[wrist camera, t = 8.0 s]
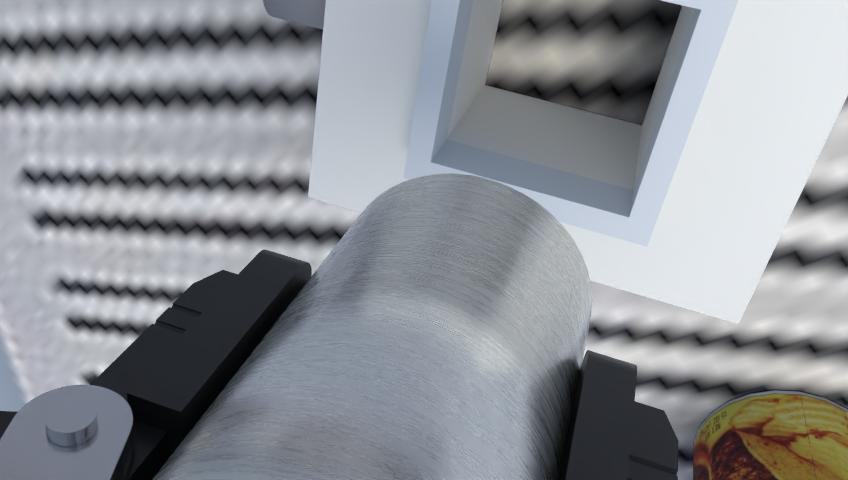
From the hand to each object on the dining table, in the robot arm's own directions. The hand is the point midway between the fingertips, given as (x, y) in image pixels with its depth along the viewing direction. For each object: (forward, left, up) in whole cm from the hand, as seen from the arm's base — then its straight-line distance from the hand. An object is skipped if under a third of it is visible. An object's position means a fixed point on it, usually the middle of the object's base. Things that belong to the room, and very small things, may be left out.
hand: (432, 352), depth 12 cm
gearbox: (+2, 0, -21) cm, 21 cm away
